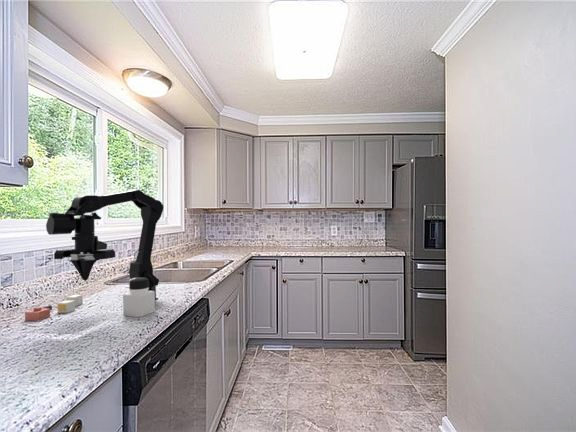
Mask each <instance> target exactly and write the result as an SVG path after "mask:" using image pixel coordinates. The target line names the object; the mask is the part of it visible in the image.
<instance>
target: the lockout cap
mask: <svg viewBox="0 0 576 432" xmlns="http://www.w3.org/2000/svg"><path fill="white" fill-rule="evenodd" d="M49 317H51V310H50V309H47V308H43V307H41V306H37V307H33V309H31V310H28V311H25V312H24V321H35V322H36V321H37V322H38V321H41V320H44V319H46V318H49Z"/></svg>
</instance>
